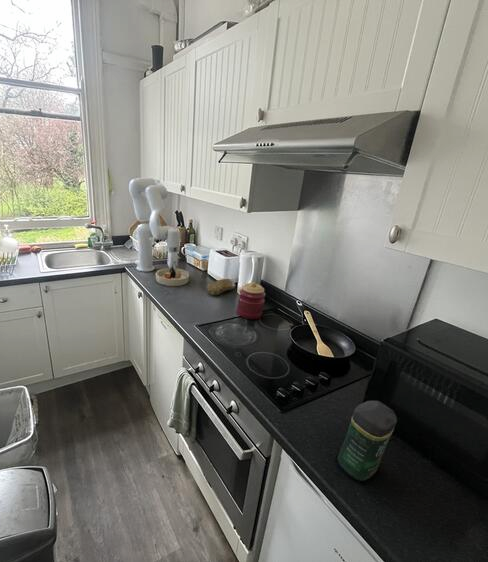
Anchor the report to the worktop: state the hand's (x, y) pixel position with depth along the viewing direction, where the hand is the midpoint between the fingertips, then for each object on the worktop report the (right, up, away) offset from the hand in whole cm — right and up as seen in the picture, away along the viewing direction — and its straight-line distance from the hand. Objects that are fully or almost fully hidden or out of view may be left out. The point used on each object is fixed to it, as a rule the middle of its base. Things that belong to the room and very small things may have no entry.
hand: (172, 276), depth 189 cm
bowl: (0, -2, +1) cm, 3 cm away
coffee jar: (+58, -51, -113) cm, 137 cm away
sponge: (+29, -10, -12) cm, 33 cm away
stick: (0, 0, 0) cm, 0 cm away
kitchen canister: (+43, -20, -36) cm, 60 cm away
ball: (-2, -2, -4) cm, 5 cm away
